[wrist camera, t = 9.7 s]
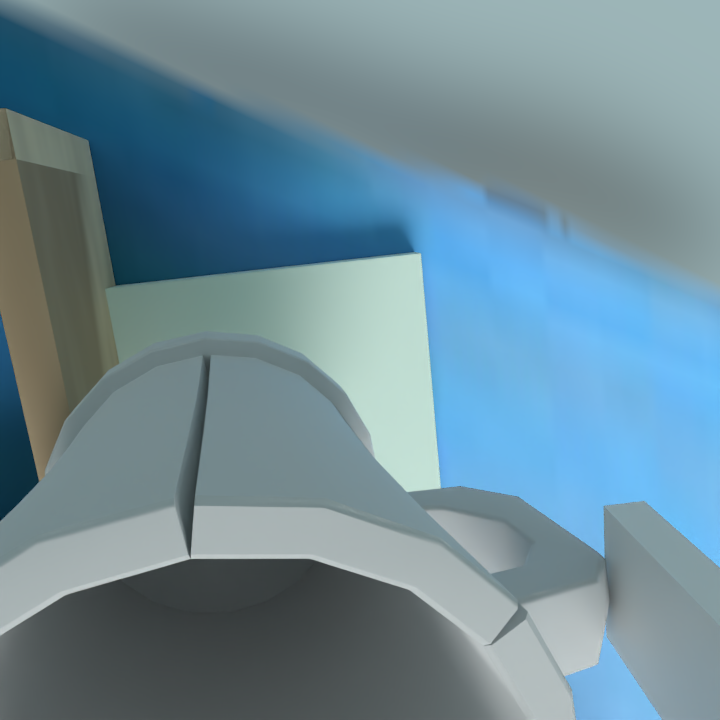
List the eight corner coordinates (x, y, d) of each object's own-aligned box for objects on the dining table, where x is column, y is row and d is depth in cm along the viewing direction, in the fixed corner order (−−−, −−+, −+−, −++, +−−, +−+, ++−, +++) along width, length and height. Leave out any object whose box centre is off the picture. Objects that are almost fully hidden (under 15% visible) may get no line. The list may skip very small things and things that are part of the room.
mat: (160, 568, 25) (153, 585, 24) (107, 286, 22) (96, 289, 21) (439, 530, 25) (445, 544, 24) (415, 252, 23) (420, 253, 22)
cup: (283, 223, 18) (408, 197, 6) (468, 455, 20) (806, 750, 9) (-20, 471, 17) (-516, 964, 6) (210, 677, 20) (198, 1308, 8)
